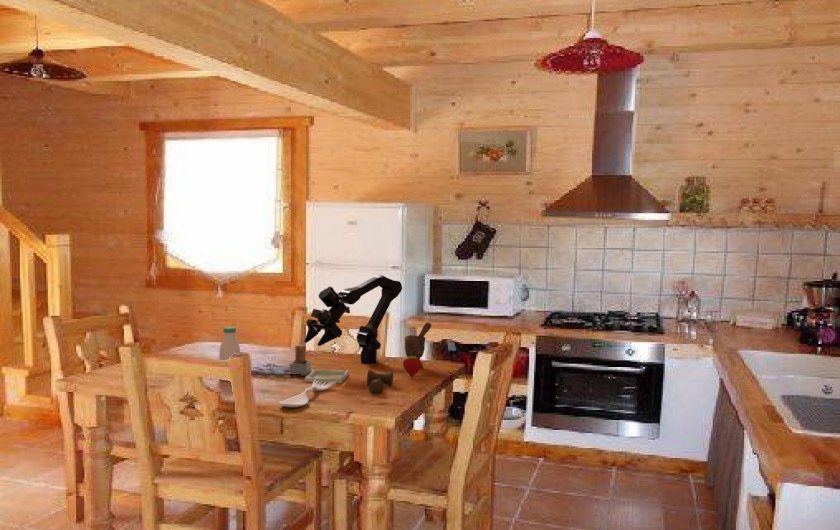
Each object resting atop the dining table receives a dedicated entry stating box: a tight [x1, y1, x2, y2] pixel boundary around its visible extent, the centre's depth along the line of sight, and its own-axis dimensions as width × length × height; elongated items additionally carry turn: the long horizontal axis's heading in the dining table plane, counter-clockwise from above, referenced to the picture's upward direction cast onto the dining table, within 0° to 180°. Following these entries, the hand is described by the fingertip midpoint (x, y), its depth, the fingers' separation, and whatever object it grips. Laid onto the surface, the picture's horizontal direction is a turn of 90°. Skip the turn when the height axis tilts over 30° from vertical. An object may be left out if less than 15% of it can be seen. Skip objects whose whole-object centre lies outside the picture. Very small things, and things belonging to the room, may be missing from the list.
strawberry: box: [402, 352, 423, 378], centre depth 258 cm, size 6×8×10 cm
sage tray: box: [304, 369, 350, 385], centre depth 251 cm, size 14×14×2 cm
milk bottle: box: [218, 326, 241, 382], centre depth 249 cm, size 8×8×20 cm
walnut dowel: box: [294, 344, 307, 364], centre depth 259 cm, size 4×4×11 cm
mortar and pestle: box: [404, 321, 432, 369], centre depth 273 cm, size 12×9×20 cm
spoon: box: [278, 379, 337, 408], centre depth 225 cm, size 9×32×4 cm, turn 165°
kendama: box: [366, 369, 394, 395], centre depth 241 cm, size 6×10×20 cm
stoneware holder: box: [289, 359, 312, 376], centre depth 259 cm, size 7×7×5 cm
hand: (311, 343), depth 262 cm, fingers open, 9 cm apart
